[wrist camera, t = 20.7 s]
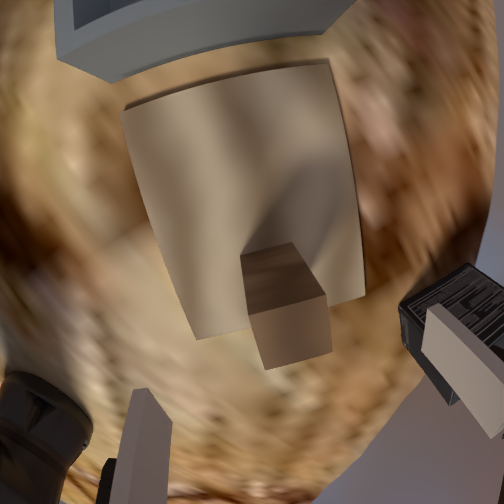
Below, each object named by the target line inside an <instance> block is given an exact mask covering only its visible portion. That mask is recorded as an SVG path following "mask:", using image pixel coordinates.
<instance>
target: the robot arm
mask: <svg viewBox="0 0 504 504" xmlns="http://www.w3.org/2000/svg"><path fill="white" fill-rule="evenodd" d="M421 351H422V352H423V353H424V355H425V356H426V357H427V358H428V359H429V360H430V362H431V363H432V364H433V365H434V366H435V368H436V369H437V370H438V371H439V372H440V374H441V375H442V376H443V377H444V379H445V380H446V381H447V382H448V384H449V385H450V386H451V387H452V389H453V390H454V391H455V392H456V394H457V395H458V396H459V397H460V399H461V400H462V401H463V402H464V404H465V405H466V406H467V408H468V409H469V410H470V412H471V413H472V414H473V416H474V417H475V418H476V420H477V421H478V422H479V424H480V425H481V426H482V428H483V429H484V430H485V432H486V433H487V434H488V436H489V437H490V439H492V438H493V437H494V436H495V435H496V434H498V433H499V432H500V431H501V430H502V429H503V428H504V349H502V348H500V347H498V346H496V345H494V344H493V345H492V346H491V347H489V348H488V347H487V346H486V345H485V344H484V343H483V342H482V341H481V340H480V339H479V338H478V337H477V336H476V335H474V334H473V333H472V332H471V331H470V330H469V329H468V328H467V327H466V326H465V325H464V324H462V323H461V322H460V321H459V320H458V319H457V318H456V317H455V316H453V315H452V314H451V313H450V312H449V311H448V310H447V309H445V308H444V307H443V306H442V305H441V304H440V303H438V304H436V305H434V306H431V307H429V308H427V315H426V322H425V330H424V336H423V343H422V348H421ZM172 423H173V422H172V421H171V419H170V418H169V417H168V416H167V414H166V413H165V412H164V410H163V409H162V407H161V406H160V405H159V403H158V402H157V400H156V399H155V398H154V396H153V395H152V393H151V392H150V390H149V389H148V388H142V389H134V390H133V392H132V396H131V400H130V404H129V408H128V412H127V416H126V420H125V425H124V429H123V433H122V438H121V442H120V447H119V452H118V457H117V458H108V460H107V461H106V463H105V465H104V466H103V468H102V473H101V480H100V482H99V488H98V493H97V498H96V504H167V489H168V472H169V457H170V445H171V433H172ZM92 433H93V428H92V425H91V423H90V421H89V419H88V418H87V416H86V415H85V414H84V412H83V411H82V410H81V409H80V408H79V407H78V406H77V405H76V404H75V403H74V402H73V401H72V400H70V399H69V398H68V397H67V396H66V395H64V394H63V393H62V392H60V391H59V390H58V389H56V388H55V387H53V386H52V385H50V384H48V383H47V382H45V381H43V380H42V379H40V378H38V377H36V376H33V375H31V374H28V373H25V372H20V371H13V372H10V373H9V374H8V375H7V377H6V378H5V380H4V381H3V383H2V385H1V387H0V504H59V501H60V497H61V493H62V489H63V485H64V481H65V477H66V474H67V471H68V469H69V468H70V466H71V465H72V464H73V463H74V462H75V461H76V459H77V458H78V457H79V456H80V454H81V453H82V451H83V450H85V449H86V448H87V447H88V445H89V443H90V439H91V436H92ZM502 439H504V434H503V437H502ZM498 504H504V476H503V482H502V487H501V492H500V496H499V500H498Z"/></svg>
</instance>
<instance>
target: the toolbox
mask: <svg viewBox="0 0 504 504" xmlns="http://www.w3.org/2000/svg"><path fill="white" fill-rule="evenodd" d="M355 1H357V0H54V26H55V42H56V54H57V60H60V61H62V62H64V63H67V64H69V65H71V66H74V67H76V68H78V69H81V70H83V71H85V72H87V73H90V74H92V75H94V76H96V77H98V78H100V79H103V80H105V81H107V82H109V83H111V84H113V83H115V82H117V81H119V80H122V79H124V78H127V77H129V76H132V75H134V74H137V73H139V72H142V71H145V70H147V69H150V68H153V67H156V66H159V65H162V64H165V63H168V62H171V61H174V60H177V59H181V58H184V57H188V56H191V55H195V54H198V53H202V52H206V51H210V50H214V49H219V48H223V47H228V46H233V45H238V44H243V43H249V42H255V41H261V40H268V39H275V38H284V37H293V36H305V35H321V34H323V33H324V32H325V31H326V30H327V29H328V28H329V27H330V26H331V25H332V24H333V23H334V22H335V21H336V20H337V19H338V18H339V17H340V16H341V15H342V14H343V13H344V12H345V11H346V10H347V9H348V8H349V7H350V6H351V5H352V4H353V3H354V2H355Z"/></svg>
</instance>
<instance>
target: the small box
mask: <svg viewBox="0 0 504 504" xmlns="http://www.w3.org/2000/svg"><path fill="white" fill-rule="evenodd" d="M438 303H440V304H441V305H442V306H443V307H444V308H445V309H447V310H448V311H449V312H450V313H451V314H452V315H453V316H455V317H456V318H457V319H458V320H459V321H460V322H461V323H462V324H464V325H465V326H466V327H467V328H468V329H469V330H470V331H471V332H472V333H473V334H474V335H476V336H477V337H478V338H479V339H480V340H481V341H482V342H483V343H484V344H485V345H486V346H487V347H488V348H489V347H491V346H492V345H493V344H494V345H496V346H498V347H500V348H502V349H504V287H503V286H501V285H500V284H498V283H497V282H495V281H494V280H492V279H491V278H490V277H488V276H487V275H485V274H484V273H483V272H481V271H479V270H478V269H477V268H475V267H474V266H472V265H471V264H470V263H467V264H465V265H464V266H462V267H460V268H459V269H457V270H456V271H454V272H453V273H451V274H450V275H448V276H447V277H445V278H443V279H442V280H440V281H438V282H437V283H435V284H434V285H432V286H430V287H429V288H427V289H425V290H424V291H422V292H420V293H418V294H417V295H415V296H413V297H412V298H410V299H408V300H406V301H404V302H403V303H401V304H399V306H398V312H399V314H400V317H399V318H400V324H401V337H402V342H403V345H404V346H405V347H406V348H407V350H408V351H409V352H410V353H411V355H412V356H413V357H414V359H415V360H416V361H417V363H418V364H419V365H420V367H421V368H422V369H423V370H424V372H425V373H426V375H427V376H428V377H429V379H430V380H431V381H432V383H433V384H434V385H435V387H436V388H437V390H438V391H439V392H440V394H441V395H442V397H443V398H444V399H445V401H446V402H447V404H448V406H451V405H453V404H454V403H456V402H457V401H458V400H460V397H459V396H458V395H457V394H456V392H455V391H454V390H453V389H452V387H451V386H450V385H449V384H448V382H447V381H446V380H445V379H444V377H443V376H442V375H441V374H440V372H439V371H438V370H437V369H436V368H435V366H434V365H433V364H432V363H431V362H430V360H429V359H428V358H427V357H426V356H425V355H424V353H423V352H422V351H421V348H422V343H423V336H424V330H425V322H426V315H427V308H429V307H431V306H434V305H436V304H438Z"/></svg>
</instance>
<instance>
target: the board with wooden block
mask: <svg viewBox="0 0 504 504" xmlns="http://www.w3.org/2000/svg"><path fill="white" fill-rule="evenodd" d="M119 114H120V119H121V123H122V127H123V131H124V135H125V139H126V143H127V146H128V150H129V154H130V157H131V161H132V164H133V168H134V171H135V175H136V178H137V182H138V185H139V188H140V192H141V195H142V198H143V201H144V204H145V207H146V210H147V214H148V217H149V220H150V223H151V225H152V228H153V231H154V234H155V237H156V240H157V243H158V246H159V248H160V251H161V254H162V257H163V259H164V262H165V265H166V267H167V270H168V273H169V275H170V278H171V280H172V283H173V286H174V288H175V291H176V293H177V296H178V298H179V300H180V303H181V305H182V308H183V310H184V313H185V315H186V317H187V320H188V322H189V324H190V327H191V329H192V331H193V333H194V336H195V338H196V340H200V339H205V338H209V337H214V336H218V335H223V334H227V333H232V332H236V331H240V330H245V329H249V328H252V330H253V333H254V337H255V340H256V343H257V346H258V350H259V353H260V356H261V359H262V362H263V365H264V369H265V370H269V369H273V368H277V367H281V366H285V365H288V364H292V363H296V362H300V361H303V360H307V359H310V358H314V357H317V356H320V355H324V354H327V353H330V352H333V351H332V341H331V331H330V322H329V313H328V307H330V306H333V305H337V304H340V303H343V302H346V301H349V300H353V299H356V298H359V297H362V296H365V282H364V266H363V253H362V242H361V232H360V223H359V214H358V206H357V199H356V192H355V185H354V178H353V172H352V166H351V160H350V155H349V149H348V144H347V139H346V134H345V129H344V125H343V120H342V115H341V111H340V107H339V103H338V98H337V94H336V90H335V87H334V83H333V79H332V75H331V72H330V68H329V65H328V64H316V65H306V66H297V67H289V68H282V69H275V70H269V71H263V72H258V73H252V74H247V75H242V76H237V77H233V78H228V79H224V80H220V81H216V82H212V83H208V84H204V85H200V86H197V87H193V88H190V89H186V90H183V91H180V92H176V93H173V94H170V95H167V96H164V97H161V98H158V99H155V100H152V101H150V102H147V103H144V104H141V105H139V106H136V107H133V108H131V109H128V110H126V111H123V112H121V113H119Z"/></svg>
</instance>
